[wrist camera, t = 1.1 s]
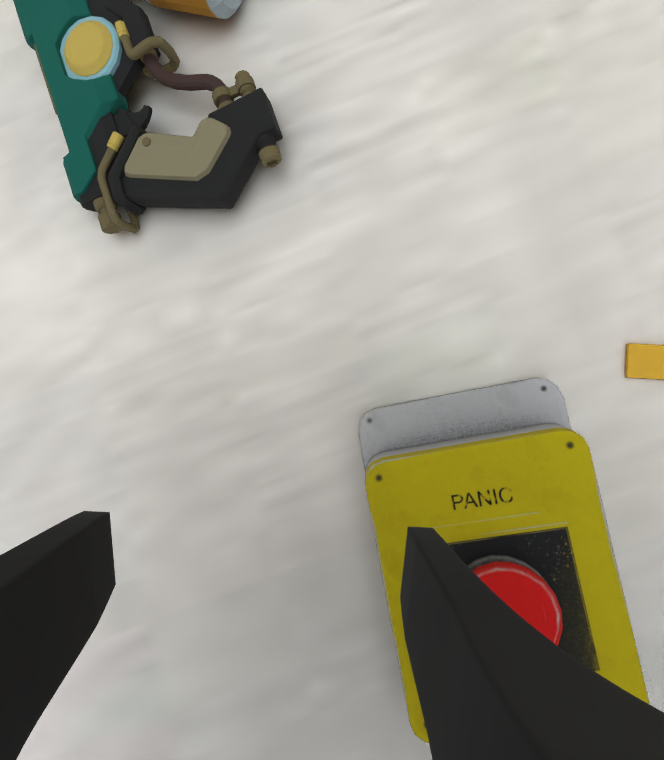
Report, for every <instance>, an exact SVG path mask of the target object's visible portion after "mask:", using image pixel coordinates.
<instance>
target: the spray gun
mask: <svg viewBox="0 0 664 760" xmlns="http://www.w3.org/2000/svg"><path fill="white" fill-rule="evenodd" d="M13 1H14V4H15V7H16V10H17V14H18V17H19V20H20V23H21V27H22V30H23V33H24V36H25V39H26V42H27V44H28V45H29V46H30V47H31V48H32V49H34V50H35V51H36V54H37V57H38V60H39V63H40V66H41V69H42V72H43V76H44V79H45V82H46V85H47V88H48V91H49V94H50V97H51V100H52V103H53V107H54V110H55V113H56V114H57V115H58V117H59V120H60V124H61V127H62V130H63V133H64V136H65V139H66V142H67V146H68V149H69V153H68V154H67V155H66V156H65V157H64V158H63V159H64V163H63V164H64V167H65V170H66V174H67V177H68V180H69V183H70V186H71V190H72V193H73V196H74V198H75V199H76V200H77V201H78V202H80V203H81V205H82V207H83V208H85V209H87V210H91V211H94V212H99V213H100V214H99V216H98V219H99V222H100V225H101V228H102V231H103V232H105V233H108V234H114V233H118V232H120V231H122V230H123V229H124V230H126V231H129V232H132V233H136V232H137V231H138V230H139V228H140V227H139V223H138V219H137V215H140V214H142V213H143V212H144V210H145V207H169V208H225V209H231V208H233V206H234V204H235V202H236V201H237V199H238V197H239V195H240V194H241V192H242V190H243V188H244V187H245V185H246V183H247V181H248V179H249V178H250V176H251V174H252V172H253V171H254V169H255V167H256V165H257V164H258V162H259V160H261V162H262V164H263V166H264V167H267V168H268V167H274V166H276V165H277V164H279V163H280V162H281V155H280V151H279V148H278V147H277V146H275V144H276V142H277V141H279V140H281V139H282V138H283V137H282V134H281V131H280V128H279V125H278V122H277V120H276V117H275V114H274V111H273V108H272V105H271V103H270V101H269V99H268V98H267V96H266V94H265V92H264V91H263V89H262V88H259V89H257V90H256V86H255V83H254V80H253V78H252V77H251V76H250V75H249V73H248V72H247V71H244V70H242V71H239V72H237V74H236V76H235V79H236V83H235V85H234V86H232V87H230V88H229V87H226V85H225V84H224V83H223V82H222V81H221V80H220V79H218V78H217V77H215V76H213V75H209V74H196V75H183V74H175V73H173V72H175V71H176V70H177V68H178V67H179V63H180V60H179V58H178V56H177V55H176V53H175V51H174V50H173V48H172V47H171V46H170V45H169V44H168V43H167V42H166V41H165V40H164V39H163V38H162V37H154V34H153V31H152V28H151V25H150V23H149V20H148V17H147V15H146V14H145V13H144V11H143V10H142V9H141V8H140V7H139V6H137V5H135V4H133V3H131V2H130V1H128V0H13ZM144 1H146V2H148V3H149V4H151V5H153V6H155V7H160V8H166V9H171V10H176V11H182V12H187V13H192V14H198V15H203V16H209V17H214V18H220V19H228V18H229V17H231V16H232V15H233V14H234V13H235V12H236V11H237V9H238V7H239V6H240V4H241V2H242V0H144ZM158 48H160V49H161V50H162V51H163V52H164V53H165V54H166V55H167V57H168V58H169V59H170V61H169V63H167V64H166V65H164V66H161V65H160V64H159V63H158V61H157V59H158V57H159V56H160V52H159V49H158ZM141 71H142V72H143V73H144V74H145V75H146V76H147V77H149V78H152V79H155V80H157V81H158V82H160V83H161V84H163V85H165V86H167V87H170V88H173V89H176V90H188V91H196V90H209V91H212V98H213V101H214V104H215V105H216V107H217V108H218V109H217V110H216V111H214V112H212V113H210V114H209V115H208V118H205V119H203V120H202V121H201V122H200V124H199V126H198V128H197V131H196V133H195V134H194V136H193V137H186V136H176V135H166V134H156V133H147V132H146V131H145V129H146V127H147V126H148V123H149V121H150V118H151V115H152V108H151V107H150V106H146V105H144V107H143V108H142V109H141V110H140V111H139V112H137V113H133V112H130V111H128V108H129V107H128V103H127V99H126V96H125V95H126V94H127V92H128V91H129V89H130V88H131V86H132V84H133V83H134V81H135V80H136V78H137V77H138V75H139V73H140V72H141ZM238 96H242V97H241V98H239V99H237V100H236V101H234V98H236V97H238ZM117 204H118V205H119V206H120V207H122V208H124V209H126V210H127V212H128V216H129V219H130V222H131V224H129V223H127V222H125V221H124V220H122V219H121V216H120V213H118V212H117V211H116V209H117V207H118V206H117Z"/></svg>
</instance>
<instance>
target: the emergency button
mask: <svg viewBox="0 0 664 760" xmlns="http://www.w3.org/2000/svg"><path fill="white" fill-rule="evenodd" d="M359 440H360V445H361V450H362V456H363V461H364V466H365V472H366V474H365V486H366V491H367V496H368V502H369V507H370V512H371V518H372V523H373V528H374V534H375V539H376V544H377V550H378V555H379V561H380V566H381V571H382V577H383V582H384V587H385V593H386V598H387V603H388V609H389V614H390V619H391V625H392V630H393V635H394V641H395V646H396V651H397V657H398V662H399V667H400V673H401V678H402V683H403V689H404V694H405V699H406V705H407V710H408V715H409V721H410V725H411V727H412V729H413V731H414V733H415V735H416V736H417V737H419V738H420V739H421V740H423V741H424V742H426V743H429V739H428V735H427V730H426V726H425V722H424V718H423V714H422V710H421V705H420V701H419V697H418V693H417V689H416V685H415V680H414V676H413V672H412V668H411V663H410V659H409V655H408V651H407V646H406V642H405V637H404V629H403V621H402V612H401V603H400V592H401V583H402V574H403V565H404V556H405V547H406V538H407V529H408V527H428V528H434V530H435V531H436V532H437V533H438V534H439V535H440V536H441V537H442V538H443V539H444V541H445V542H446V543H447V544H448V545H449V546H450V547H451V548H452V550H453V551H454V552H455V553H456V554H457V555H458V556H459V557H460V558H461V559H462V561H463V562H464V563H465V564H466V565H467V566H468V567H469V568H470V569H471V570H472V571H473V572H474V573H475V574H476V575H477V576H478V577H479V578H480V579H481V580H482V581H483V582H484V583H485V584H486V585H487V586H488V587H489V588H490V589H491V590H492V591H493V592H494V593H495V594H496V595H497V596H498V597H499V598H501V599H502V600H503V601H504V602H505V603H506V604H507V605H508V606H509V607H510V608H511V609H513V610H514V611H515V612H516V613H517V614H518V615H519V616H521V617H522V618H523V619H524V620H525V621H527V622H528V623H529V624H530V625H532V626H533V627H534V628H535V629H537V630H538V631H539V632H540V633H542V634H543V635H544V636H546V637H547V638H548V639H549V640H551V641H552V642H553V643H555V644H556V645H557V646H559V647H560V648H561V649H563V650H564V651H566V652H567V653H568V654H570V655H571V656H573V657H574V658H576V659H577V660H579V661H580V662H582V663H583V664H585V665H586V666H587V667H589V668H590V669H592V670H593V671H595V672H596V673H598V674H599V675H601V676H602V677H604V678H606V679H607V680H609V681H610V682H612V683H614V684H615V685H617V686H619V687H620V688H622V689H623V690H625V691H627V692H628V693H630V694H632V695H634V696H635V697H637V698H639V699H641V700H642V701H644V702H646V703H648V704H649V700H648V695H647V691H646V687H645V683H644V678H643V674H642V670H641V666H640V661H639V657H638V653H637V649H636V645H635V640H634V636H633V632H632V628H631V623H630V619H629V615H628V611H627V606H626V602H625V598H624V594H623V589H622V585H621V581H620V577H619V572H618V568H617V564H616V560H615V555H614V551H613V547H612V543H611V538H610V534H609V530H608V526H607V521H606V517H605V513H604V509H603V504H602V500H601V496H600V492H599V488H598V483H597V479H596V475H595V471H594V466H593V462H592V458H591V454H590V449H589V447H588V445H587V443H586V441H585V440H584V438H583V437H582V436H580V435H579V434H577V433H576V432H574V431H572V430H571V426H570V422H569V418H568V413H567V409H566V405H565V401H564V397H563V395H562V393H561V391H560V389H559V387H558V386H557V385H555V384H554V383H552V382H551V381H550V380H548V379H541V378H533V379H527V380H522V381H517V382H512V383H506V384H501V385H496V386H490V387H485V388H480V389H474V390H469V391H464V392H458V393H453V394H448V395H443V396H437V397H432V398H427V399H421V400H416V401H411V402H405V403H400V404H395V405H390V406H384V407H379V408H374V409H372V410H370V411H369V412H367V413H365V414H364V416H363V417H362V419H361V421H360V423H359ZM649 705H650V704H649Z"/></svg>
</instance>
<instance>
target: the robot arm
mask: <svg viewBox="0 0 664 760" xmlns="http://www.w3.org/2000/svg"><path fill="white" fill-rule="evenodd" d="M115 585H116V583H115V571H114V559H113V548H112V536H111V524H110V512H92V511H83V512H81V513H79V514H77V515H74V516H72V517H70V518H68V519H66V520H65V521H63V522H61V523H59V524H57V525H55V526H53V527H51V528H50V529H48V530H46V531H44V532H42V533H40V534H39V535H37V536H35V537H33V538H31V539H29V540H28V541H26V542H24V543H22V544H20V545H18V546H17V547H15V548H13V549H11V550H9V551H7V552H6V553H4V554H2V555H0V760H16V759H17V757H18V755H19V753H20V751H21V749H22V747H23V745H24V744H25V742H26V740H27V738H28V737H29V735H30V733H31V731H32V730H33V728H34V726H35V725H36V723H37V721H38V719H39V718H40V716H41V715H42V713H43V711H44V710H45V708H46V707H47V705H48V703H49V702H50V700H51V699H52V697H53V695H54V694H55V692H56V691H57V689H58V687H59V686H60V684H61V683H62V681H63V679H64V678H65V676H66V675H67V673H68V671H69V670H70V668H71V667H72V665H73V663H74V662H75V660H76V659H77V657H78V655H79V654H80V652H81V651H82V649H83V647H84V646H85V644H86V642H87V641H88V639H89V638H90V636H91V634H92V633H93V631H94V629H95V628H96V626H97V624H98V622H99V620H100V618H101V616H102V614H103V611H104V609H105V607H106V605H107V603H108V601H109V598H110V596H111V594H112V591H113V589H114V587H115ZM400 603H401V612H402V621H403V629H404V637H405V642H406V646H407V651H408V655H409V659H410V663H411V668H412V672H413V676H414V680H415V685H416V689H417V693H418V697H419V701H420V705H421V710H422V714H423V718H424V722H425V726H426V730H427V735H428V739H429V744H430V749H431V754H432V759H433V760H664V713H663V712H661V711H660V710H658V709H656V708H654V707H653V706H651V705H649V704H648V703H646V702H644V701H642V700H641V699H639V698H637V697H635V696H634V695H632V694H630V693H628V692H627V691H625V690H623V689H622V688H620V687H619V686H617V685H615V684H614V683H612V682H610V681H609V680H607V679H606V678H604V677H602V676H601V675H599V674H598V673H596V672H595V671H593V670H592V669H590V668H589V667H587V666H586V665H585V664H583V663H582V662H580V661H579V660H577V659H576V658H574V657H573V656H571V655H570V654H568V653H567V652H566V651H564V650H563V649H561V648H560V647H559V646H557V645H556V644H555V643H553V642H552V641H551V640H549V639H548V638H547V637H546V636H544V635H543V634H542V633H540V632H539V631H538V630H537V629H535V628H534V627H533V626H532V625H530V624H529V623H528V622H527V621H525V620H524V619H523V618H522V617H521V616H519V615H518V614H517V613H516V612H515V611H514V610H513V609H511V608H510V607H509V606H508V605H507V604H506V603H505V602H504V601H503V600H502V599H501V598H499V597H498V596H497V595H496V594H495V593H494V592H493V591H492V590H491V589H490V588H489V587H488V586H487V585H486V584H485V583H484V582H483V581H482V580H481V579H480V578H479V577H478V576H477V575H476V574H475V573H474V572H473V571H472V570H471V569H470V568H469V567H468V566H467V565H466V564H465V563H464V562H463V561H462V559H461V558H460V557H459V556H458V555H457V554H456V553H455V552H454V551H453V550H452V548H451V547H450V546H449V545H448V544H447V543H446V542H445V541H444V539H443V538H442V537H441V536H440V535H439V534H438V533H437V532H436V531H435V530H434V528H428V527H408V529H407V538H406V547H405V556H404V565H403V574H402V583H401V592H400Z"/></svg>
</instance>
